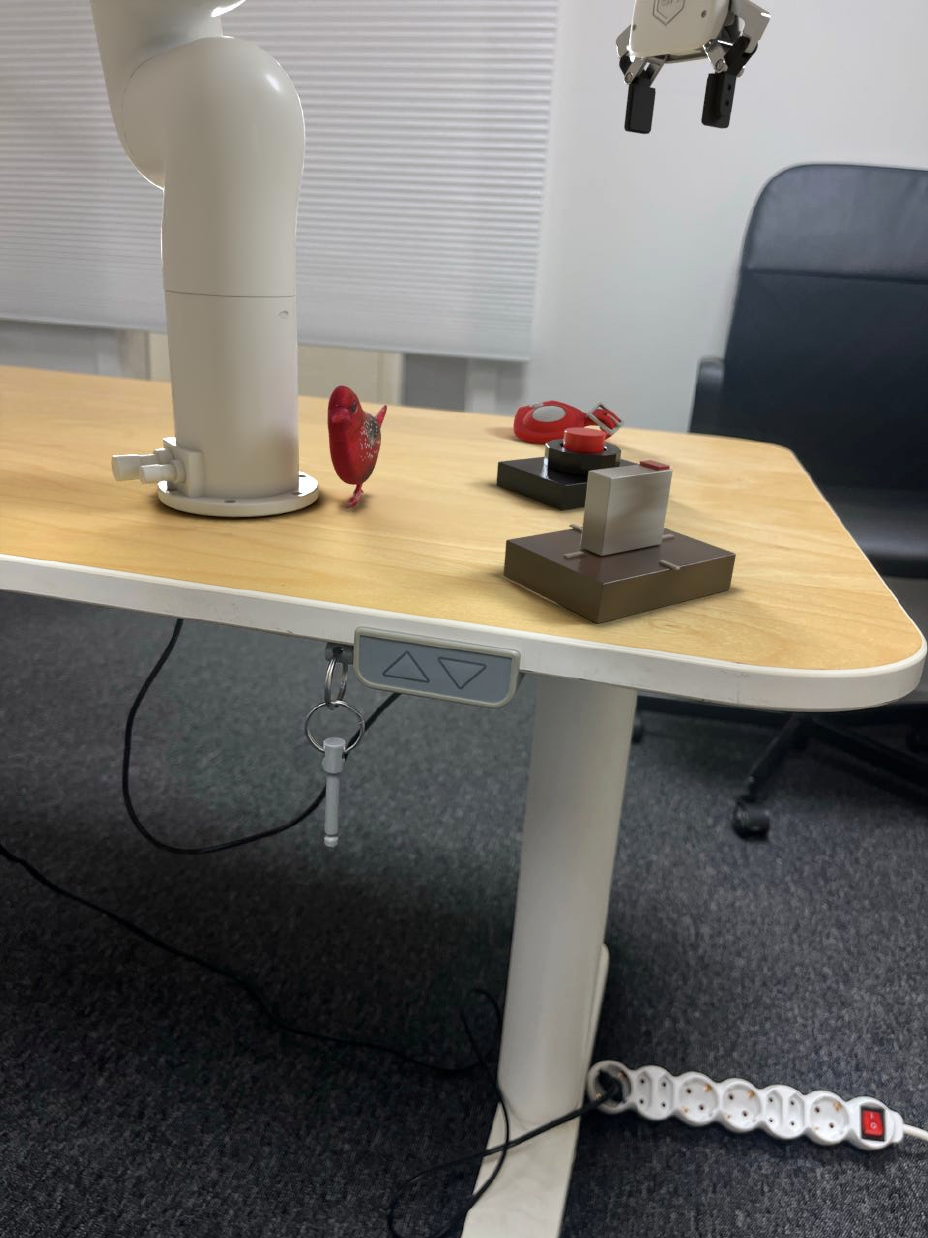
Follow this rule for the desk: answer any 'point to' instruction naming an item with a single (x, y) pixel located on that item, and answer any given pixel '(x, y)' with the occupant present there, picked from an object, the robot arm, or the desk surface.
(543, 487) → the button box
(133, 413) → the desk surface
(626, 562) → the brown flat block
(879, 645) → the desk surface
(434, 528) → the desk surface
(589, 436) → the button
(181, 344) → the robot arm
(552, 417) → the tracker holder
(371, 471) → the decorative bird figurine
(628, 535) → the grey rectangular block
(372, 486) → the desk surface
